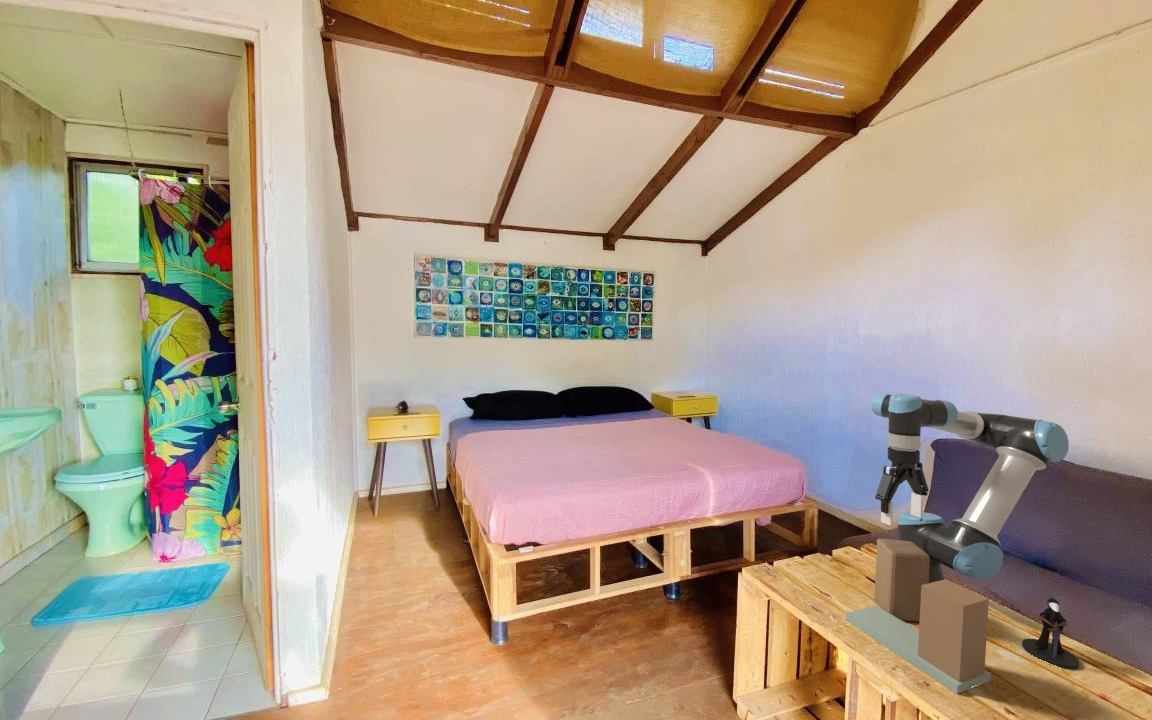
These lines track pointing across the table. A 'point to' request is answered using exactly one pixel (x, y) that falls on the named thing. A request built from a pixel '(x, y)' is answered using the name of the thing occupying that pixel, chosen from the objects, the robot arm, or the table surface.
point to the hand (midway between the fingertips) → (901, 519)
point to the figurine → (1053, 650)
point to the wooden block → (900, 578)
